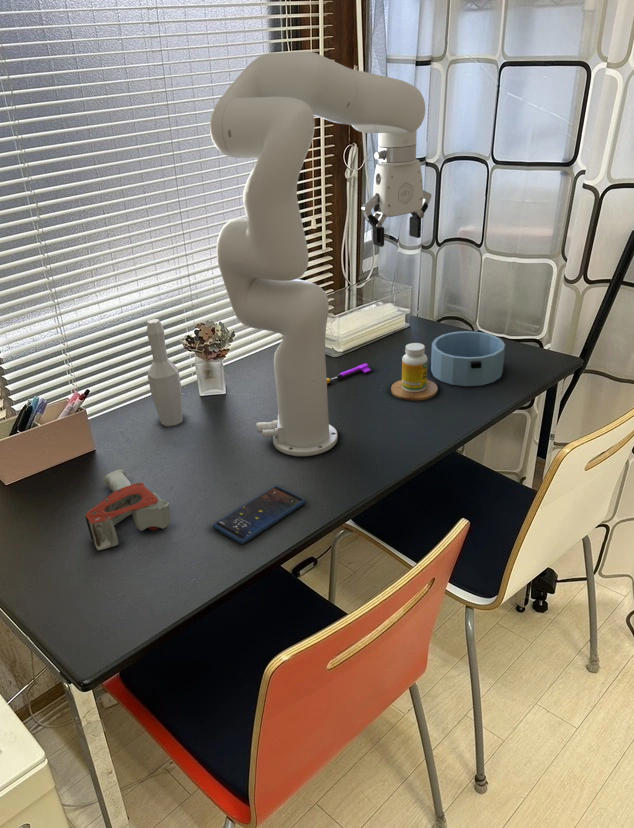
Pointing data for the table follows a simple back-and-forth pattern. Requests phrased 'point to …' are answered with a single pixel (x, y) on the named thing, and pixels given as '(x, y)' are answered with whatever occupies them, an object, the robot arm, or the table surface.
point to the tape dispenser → (125, 510)
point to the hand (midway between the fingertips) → (397, 241)
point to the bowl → (467, 358)
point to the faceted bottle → (164, 378)
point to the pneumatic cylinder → (353, 371)
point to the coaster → (414, 396)
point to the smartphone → (259, 514)
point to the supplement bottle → (414, 368)
